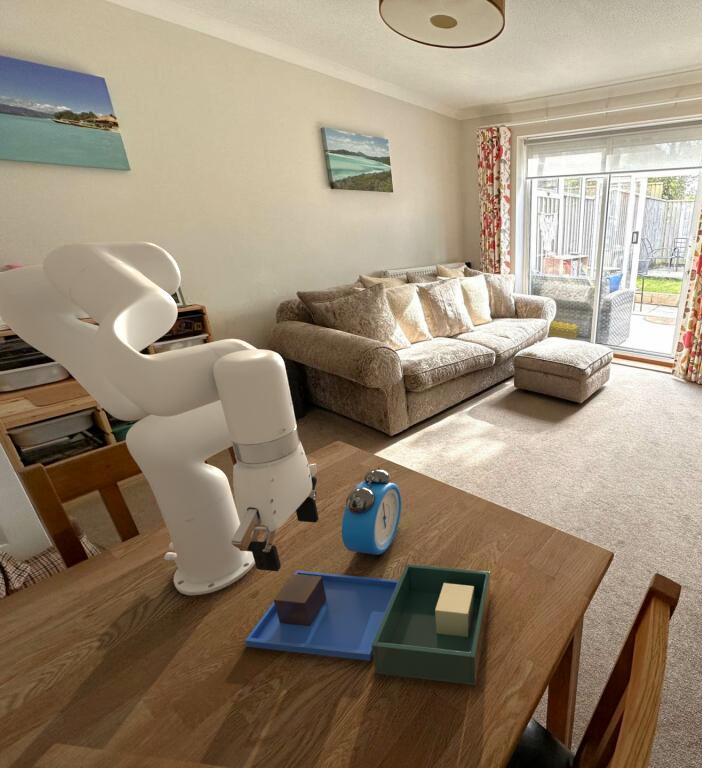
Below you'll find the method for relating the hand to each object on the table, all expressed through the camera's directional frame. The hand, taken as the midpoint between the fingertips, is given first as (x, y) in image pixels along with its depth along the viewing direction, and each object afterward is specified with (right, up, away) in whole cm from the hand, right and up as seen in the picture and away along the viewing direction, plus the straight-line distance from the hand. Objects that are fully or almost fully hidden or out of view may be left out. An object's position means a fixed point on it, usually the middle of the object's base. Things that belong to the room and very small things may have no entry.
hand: (290, 542), depth 60 cm
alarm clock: (+6, -8, +20) cm, 22 cm away
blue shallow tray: (+4, -14, +5) cm, 15 cm away
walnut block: (-1, -13, +5) cm, 14 cm away
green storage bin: (+22, -15, +3) cm, 27 cm away
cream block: (+24, -14, +4) cm, 28 cm away
